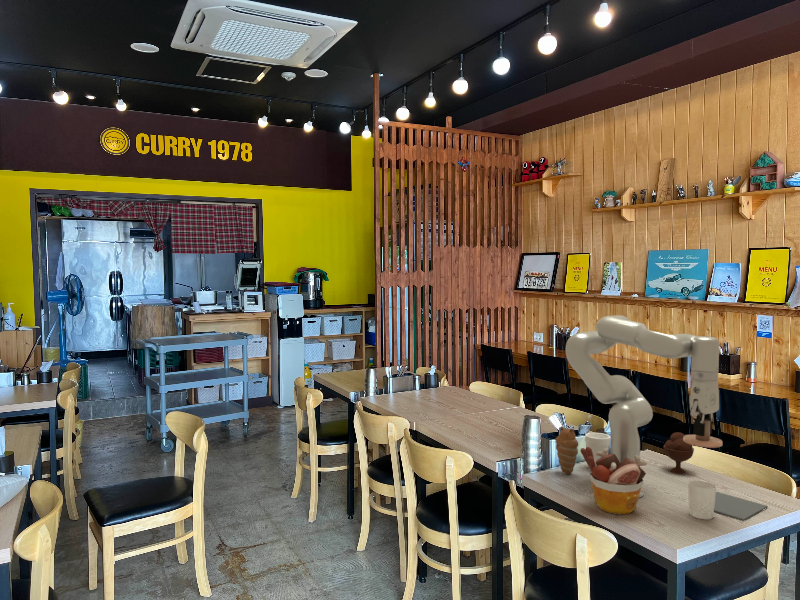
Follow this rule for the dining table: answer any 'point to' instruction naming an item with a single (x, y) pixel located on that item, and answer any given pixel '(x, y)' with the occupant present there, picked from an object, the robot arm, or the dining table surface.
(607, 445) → the foam cup
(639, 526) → the dining table surface
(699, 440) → the lid
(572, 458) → the cat ice cream
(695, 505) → the white cup
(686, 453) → the ice cream bowl
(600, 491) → the bucket of meat
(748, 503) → the mat
